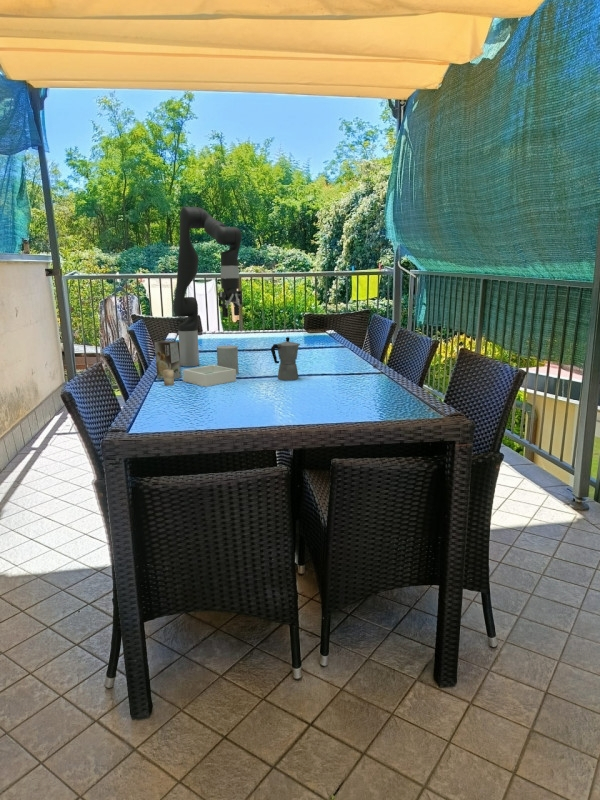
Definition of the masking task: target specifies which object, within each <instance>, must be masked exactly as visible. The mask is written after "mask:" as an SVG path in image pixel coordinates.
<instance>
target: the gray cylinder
mask: <svg viewBox="0 0 600 800" xmlns="http://www.w3.org/2000/svg"><path fill="white" fill-rule="evenodd" d="M238 348H239V347H238V346H237V345H231V344H230V345H229V344H228V345H218V346H216V366H221V367H226V368H231V369H236V376H237V375H239V352H238V351H239V350H238Z"/></svg>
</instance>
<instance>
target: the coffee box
mask: <svg viewBox="0 0 600 800" xmlns="http://www.w3.org/2000/svg"><path fill="white" fill-rule="evenodd" d="M154 349H155V350H154V353H155V354H154V355H155V363H156V364H155V365H156V376H157V377H156V378H157V379H161V380H162V379H163V380H164V372H163V371H164V370H173V372H174V380H176V379H180V378H182V366H181V364H180V349H179V340H178V341H176V340H166V339H165V340H157V341H154Z"/></svg>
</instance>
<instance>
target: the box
mask: <svg viewBox="0 0 600 800" xmlns="http://www.w3.org/2000/svg"><path fill="white" fill-rule="evenodd" d="M182 382H185V383H189V384H194V385H196V386H201V387H205V388H206V387H210V386H216V385H221V384H227V383H228V384H229V383H233V382H237V375H236V369H231V368H226V367H221V366H217V364H215V365H214V364H210V365H205V366H195V367H192V368H191V367H190V368H183V369H182Z"/></svg>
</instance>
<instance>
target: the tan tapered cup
mask: <svg viewBox="0 0 600 800" xmlns="http://www.w3.org/2000/svg"><path fill="white" fill-rule="evenodd" d="M163 372H164V379H163V385H164V386H167V387H169V386H170V387H171V386H174V385H175V379H174V372H173V370H164V371H163Z"/></svg>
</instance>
